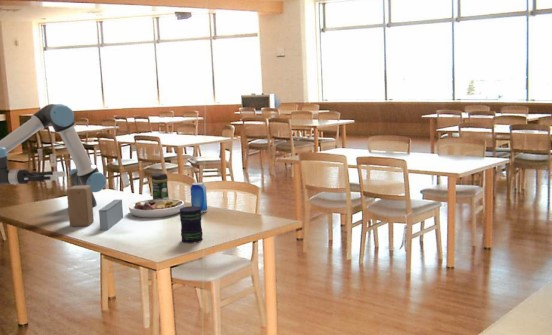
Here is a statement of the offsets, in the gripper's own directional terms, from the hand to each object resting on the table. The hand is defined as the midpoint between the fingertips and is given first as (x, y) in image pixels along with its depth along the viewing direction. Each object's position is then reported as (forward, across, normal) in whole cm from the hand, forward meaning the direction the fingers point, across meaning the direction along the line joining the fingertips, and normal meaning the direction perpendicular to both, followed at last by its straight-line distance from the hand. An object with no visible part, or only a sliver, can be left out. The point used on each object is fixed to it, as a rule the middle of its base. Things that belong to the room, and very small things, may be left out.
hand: (61, 175), depth 339 cm
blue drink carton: (+67, -23, -26) cm, 75 cm away
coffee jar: (+40, -47, -26) cm, 67 cm away
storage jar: (+73, +36, -26) cm, 86 cm away
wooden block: (+9, 0, -26) cm, 28 cm away
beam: (+25, 0, -26) cm, 36 cm away
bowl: (+43, -24, -26) cm, 56 cm away
